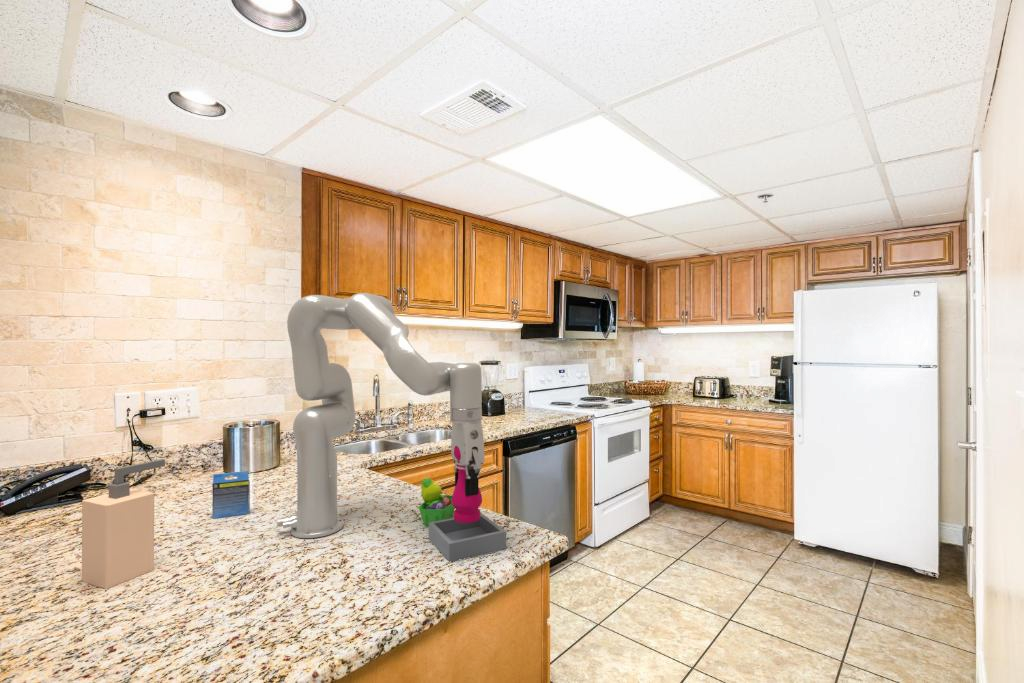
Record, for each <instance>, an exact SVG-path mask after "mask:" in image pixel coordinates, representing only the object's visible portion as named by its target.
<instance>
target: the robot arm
mask: <svg viewBox="0 0 1024 683" xmlns="http://www.w3.org/2000/svg"><path fill="white" fill-rule="evenodd" d="M286 323H287V325H286V327H287V328H286V329H287V332H288V336H289V341H290V342H289V343H290V347H291V348H290V349H291V356H292V357H291V359H292V370H293V377H294V386H295V391H296V394H297V396H298V397H299V398H300V399H301V400H304V401H314V402H315V401H321V404H318V405H317V404H316V405H313V406H310V407H307V408H304V409H303V410H301V411H300V412H299V413H298V414H297V415H296V417H295V418H294V420H293V425H292V430H293V432H292V434H293V437H294V443H295V447H296V448H295V449H296V465H297V466H296V470H297V473H296V474H297V478H296V479H297V480H296V483H297V486H296V487H297V488H296V489H297V490H296V491H297V497H296V498H297V500H296V504H297V506H296V508H297V509H296V511H295V512H294V514H292V515H290V516H289V517H288V516H287V517H279V518H277V520H276V525H277V526H276V527H277V528H278V527H282V528H283V529H285V528H289V527H290V531H289V532H290V534H291V535H292V536H293V537H295V538H300V539H316V538H322V537H325V536H331V535H333V534H335V533H337V532H339V531H340V530H342V528H343V527H344V523H345V522H344V520H343V518H341V517H339V516H338V455H337V452H336V448H335V445H334V443H333V439H336V438H337V439H338V438H340V437H342V436H343V437H344V436H346V435H348V433H349V432H351V431H352V429H353V428H354V425H355V422H356V410H355V402H354V400H355V399H354V392H353V391H354V389H353V384H352V379H351V378H352V377H351V376H350V373H349V372H348V370H347V368H345V367H344V365H341V364H339V363H336V362H330V361H329V355H328V352H329V351H328V346H327V343H326V341H325V338H324V337H323V335H322V332H321V330H324V329H326V330H338V331H339V330H341V331H345V330H359V331H361V333H362V334H364V335H365V336H366V337H367V338H368V339H369V340H370V341H371V342H372V343H373V344H374V345H375V346H376V347H377V348H378V349H379V350H380V351H381V352H382V353H383V356H384V359H385V361H386V363H387V365H388V366H389V368H390V370H391V371H392V373H393V374H394V375H395V376H396V377H397V378H398V379H399V380H400V381H401V382H402V383H404V385H405V386H407V387H408V389H410V390H411V391H412V392H414V393H415V394H418V395H420V396H425V397H426V396H428V397H429V396H432V395H435V394H440V393H441V394H442V393H446V392H449V422H450V423H452V424H451V434H450V435H451V439H450V440H451V442H450V445H451V446H450V452H451V457H452V459H453V463H454V468H453V470H454V488H455V487H456V485H457V482H458V468H456V462H458V460H457V459H456V458H455V456H454V448H455V446H458V448H459V450H460V454H461V459H460V461H459V463H461V464H463V465H465V470H466V478H465V495H466V496H472V495H478V493H479V489H480V487H479V478H480V472H481V470H482V467H483V466H482V465H483V464H484V463H485V462H486V460H485V459H486V458H485V443H484V442H485V440H484V430H483V425H482V421H483V414H482V413H483V408H482V407H483V406H482V402H483V400H482V398H483V396H482V395H483V392H482V388H483V386H482V385H483V384H482V380H483V379H482V367H481V365H480V364H478V363H475V362H462V363H461V362H460V363H459V362H458V363H450V362H443V361H436V362H435V361H433V362H428V361H427V360H426V359H425V358H424V357H423V356H422V355H420V354H419V353H418V352H417V350H415V349H414V347H413V346H412V345H411V343H410V342H409V339H408V337H409V334H410V330H409V328H408V326H406V324H404V323H403V321H401V320H400V319H399V318H398V317H397V316H396V315H395V308H394V306H393V304H392V303H391V301H390V300H389V299H388V298H386V297H385V296H382V295H378V294H373V293H367V292H358V293H355V294H353V295H351V296H350V297H349V298H338V297H333V296H329V295H321V294H309V295H306V296H303V297H300V299H298V300H297V301H296V302H294V304H293V305H292V307H291V308H290V310H289V312H288V316H287V320H286ZM469 462H473V463H474V464H470V463H469ZM469 464H470V465H469ZM469 467H473V469H471V471H470V470H469Z"/></svg>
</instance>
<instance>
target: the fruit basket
mask: <svg viewBox="0 0 1024 683" xmlns="http://www.w3.org/2000/svg"><path fill="white" fill-rule="evenodd" d="M420 489H421V491H420V492H421V498H422V500H423V502H422V504H420V505H419V506H418V510H419V512H420V515H421V520H422V522H423V523H422V524H423V525H426V526H425V527H429V523H430V522H435V521H440V520H445V519H451V518H453V517H454V511H455V510H456V509H455V508H454V506H453V505H452V495H453V494H452V495H449V494H448V495H447V494H441V493H442V492H443V490H442V487H441V486H440V485H439V483H436V482H435V480H433V479H431V478H430V477H427V478H423V479H422V481H421V484H420ZM427 525H428V526H427Z"/></svg>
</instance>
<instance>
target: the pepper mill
mask: <svg viewBox="0 0 1024 683" xmlns="http://www.w3.org/2000/svg"><path fill="white" fill-rule="evenodd" d="M454 456H455V458H456V459H457V460H458V462H456V468H458V482H457V485H456V487H455V486H454V489H453V491H452V505H453V506H454V508H455V510H454V514H453V518H454V520H455V521H456V522H459V523H472V522H476V521H478V520H479V519H480V513H481V510H480V509H479V508H480V506H481V505H482V504H483V497H482V496H483V494H482V493H481V489H480V488H479V493H478V495H472V496H466V495H465V478H466V470H465V465H463V464H461V463H459V461H460V459H461V454H460V450H459V448H458V446H455V448H454ZM469 463H470V464H474V463H473V462H469ZM470 464H469V465H470ZM471 469H473V467H469V470H470V471H471Z"/></svg>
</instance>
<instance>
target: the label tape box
mask: <svg viewBox="0 0 1024 683" xmlns="http://www.w3.org/2000/svg"><path fill="white" fill-rule="evenodd" d="M249 474H250V473H249V470H246V471H244V470H243V471H233V472H223V473H213V474H212V485H211V486H212V497H211V498H212V503H211V504H212V510H211V511H212V512H211V513H212V517H211V518H212V519H213V520H214V519H215V520H216V519H224V518H228V517H235V516H243V515H249V514H250V508H251V505H250V504H251V502H250V501H251V500H250V499H251V486H250V479H249V477H250V475H249ZM231 476H232V477H236V478H230V477H231ZM226 478H227V479H226ZM229 478H230V479H229Z"/></svg>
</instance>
